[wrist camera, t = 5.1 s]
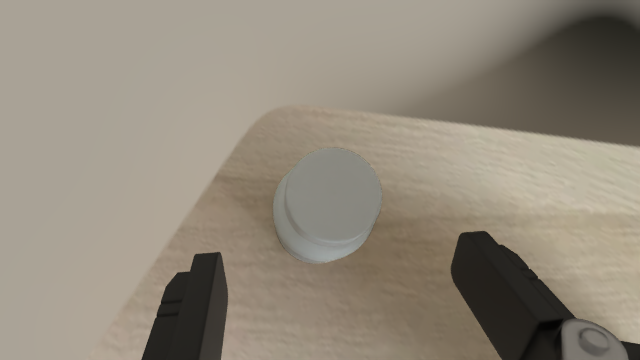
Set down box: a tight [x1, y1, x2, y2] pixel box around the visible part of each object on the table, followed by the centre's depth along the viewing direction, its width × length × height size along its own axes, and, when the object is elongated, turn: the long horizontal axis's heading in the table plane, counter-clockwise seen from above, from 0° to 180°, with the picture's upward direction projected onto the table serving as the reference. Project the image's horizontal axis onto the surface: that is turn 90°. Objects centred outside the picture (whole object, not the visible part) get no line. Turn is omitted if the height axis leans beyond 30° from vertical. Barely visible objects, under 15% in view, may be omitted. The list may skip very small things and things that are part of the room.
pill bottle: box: [273, 148, 382, 263], centre depth 15 cm, size 4×4×8 cm
